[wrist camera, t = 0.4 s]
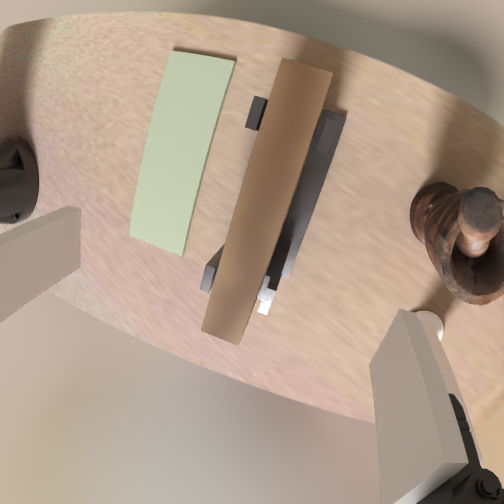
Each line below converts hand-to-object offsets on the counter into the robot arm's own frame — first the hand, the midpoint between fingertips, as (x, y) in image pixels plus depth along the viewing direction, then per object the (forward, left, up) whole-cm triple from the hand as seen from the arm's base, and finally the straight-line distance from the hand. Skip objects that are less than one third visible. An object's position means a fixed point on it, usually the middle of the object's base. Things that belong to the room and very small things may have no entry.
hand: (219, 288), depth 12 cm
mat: (-14, -1, -25) cm, 28 cm away
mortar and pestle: (+15, +3, -25) cm, 29 cm away
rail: (-1, -1, -14) cm, 15 cm away
